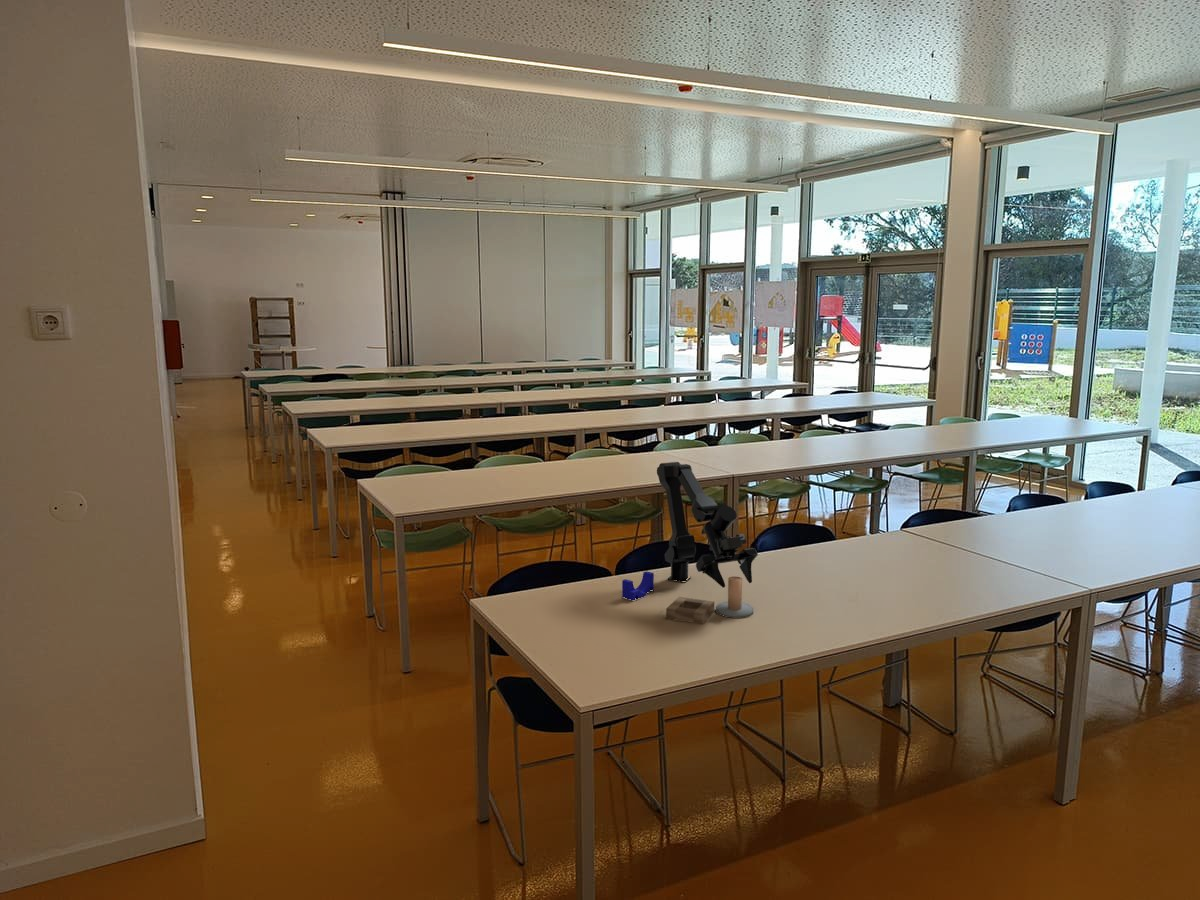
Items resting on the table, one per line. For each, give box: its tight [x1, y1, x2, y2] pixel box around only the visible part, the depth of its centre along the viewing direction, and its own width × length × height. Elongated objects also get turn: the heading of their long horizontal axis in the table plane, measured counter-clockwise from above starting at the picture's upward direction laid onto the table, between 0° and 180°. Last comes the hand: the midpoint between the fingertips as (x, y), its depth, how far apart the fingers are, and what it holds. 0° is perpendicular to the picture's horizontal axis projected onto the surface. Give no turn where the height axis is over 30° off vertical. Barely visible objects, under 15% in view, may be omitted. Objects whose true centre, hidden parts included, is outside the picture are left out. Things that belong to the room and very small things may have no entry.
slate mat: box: [715, 601, 754, 619], centre depth 240 cm, size 11×11×1 cm
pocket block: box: [665, 596, 715, 625], centre depth 238 cm, size 11×11×3 cm
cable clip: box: [621, 570, 655, 600], centre depth 255 cm, size 12×4×6 cm, turn 139°
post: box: [727, 576, 743, 610], centre depth 240 cm, size 4×4×9 cm
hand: (737, 584), depth 238 cm, fingers open, 9 cm apart
